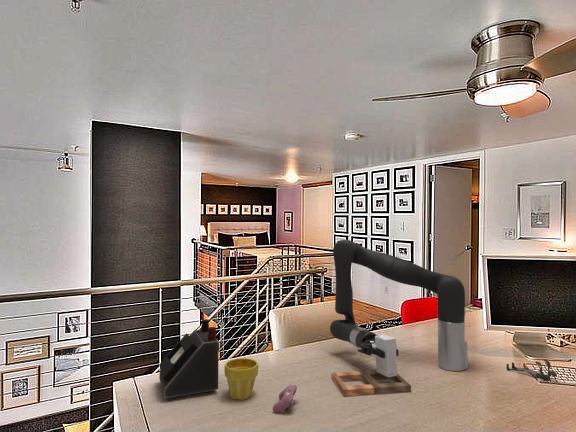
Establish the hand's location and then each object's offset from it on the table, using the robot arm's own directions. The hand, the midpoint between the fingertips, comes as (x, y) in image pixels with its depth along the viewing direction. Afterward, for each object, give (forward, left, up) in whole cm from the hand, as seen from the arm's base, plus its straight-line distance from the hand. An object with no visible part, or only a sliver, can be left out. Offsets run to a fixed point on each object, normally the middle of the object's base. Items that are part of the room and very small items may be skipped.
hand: (390, 354), depth 127 cm
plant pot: (+48, -2, -11) cm, 49 cm away
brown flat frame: (+6, -3, -11) cm, 13 cm away
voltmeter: (+65, -10, -11) cm, 67 cm away
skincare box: (0, -3, -7) cm, 8 cm away
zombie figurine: (-53, -2, -11) cm, 54 cm away
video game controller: (+36, +8, -11) cm, 38 cm away
